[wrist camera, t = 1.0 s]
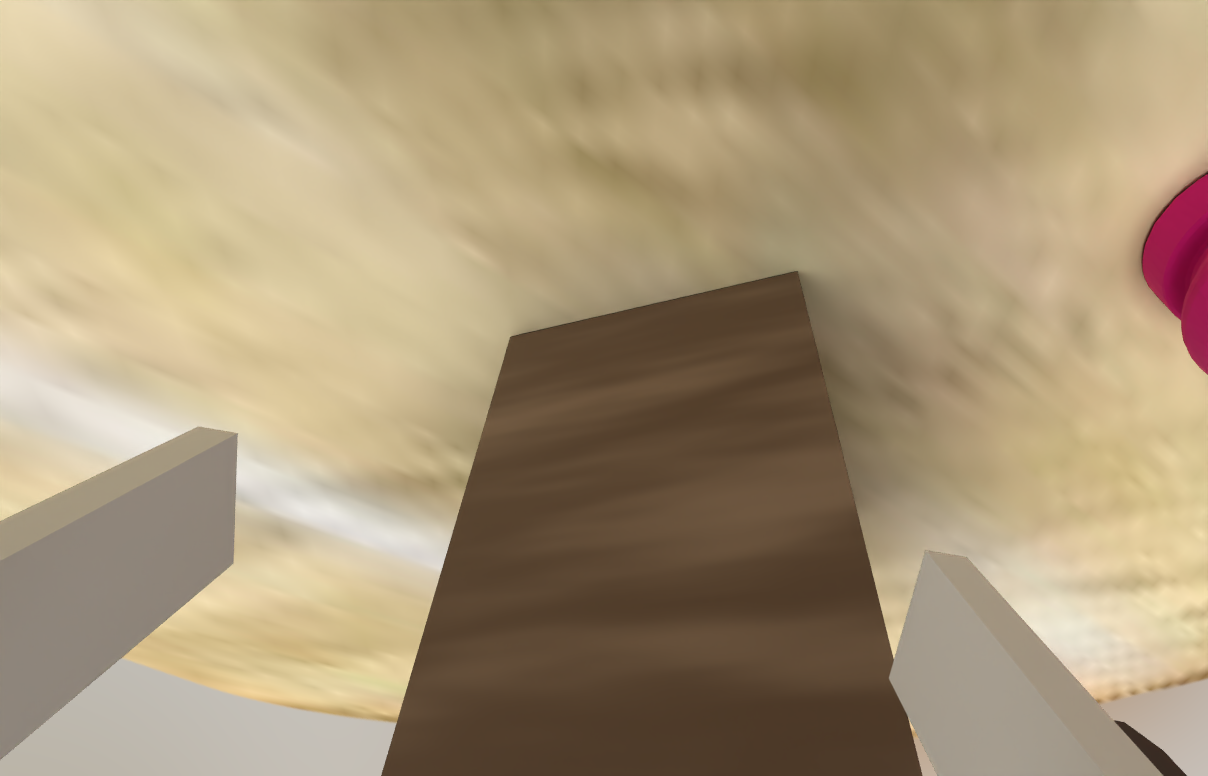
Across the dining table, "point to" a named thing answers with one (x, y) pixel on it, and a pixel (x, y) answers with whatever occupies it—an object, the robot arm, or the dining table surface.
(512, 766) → the wood-grain storage bin
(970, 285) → the dining table surface
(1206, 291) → the pepper mill
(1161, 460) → the dining table surface
